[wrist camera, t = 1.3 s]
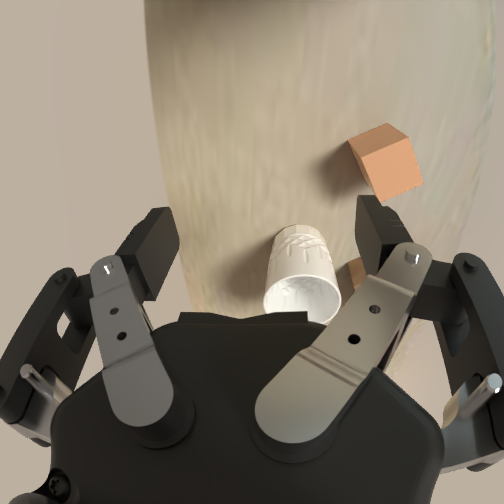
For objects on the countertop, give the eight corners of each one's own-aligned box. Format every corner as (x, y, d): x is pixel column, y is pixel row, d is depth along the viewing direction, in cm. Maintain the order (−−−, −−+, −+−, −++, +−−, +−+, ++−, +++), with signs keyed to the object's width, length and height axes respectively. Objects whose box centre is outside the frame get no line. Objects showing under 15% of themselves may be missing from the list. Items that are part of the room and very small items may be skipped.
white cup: (340, 253, 37) (353, 311, 29) (289, 279, 41) (290, 337, 33) (309, 208, 34) (317, 261, 26) (255, 239, 37) (247, 296, 29)
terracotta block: (387, 122, 27) (408, 137, 22) (402, 162, 29) (423, 183, 24) (347, 140, 29) (360, 157, 24) (364, 178, 31) (379, 203, 26)
